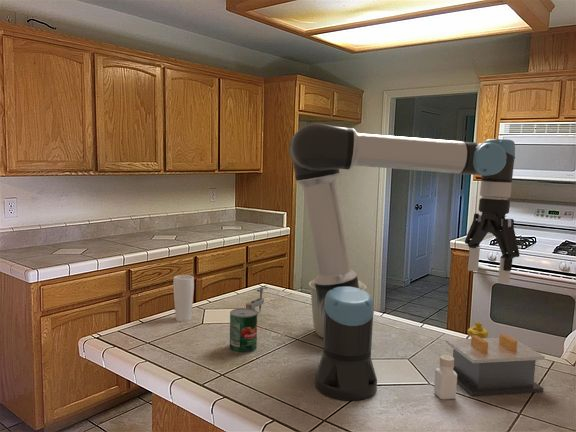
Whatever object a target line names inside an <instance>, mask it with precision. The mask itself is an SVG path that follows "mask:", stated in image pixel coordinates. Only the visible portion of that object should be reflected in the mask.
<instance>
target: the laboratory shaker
mask: <svg viewBox="0 0 576 432" xmlns="http://www.w3.org/2000/svg"><path fill="white" fill-rule="evenodd" d="M470 337H471V338H465V339H464V338H461V339H459V338H458V339H457V338H456V339H445V343H446V344H447V345H448V346H450V347H451V348H452V357H453V358H454V367H453V370H454V371H455V372H456V373H457V385H458V386H459V387H461V388H462V389H463V390H464V391H465V392H466V393H467V394H469V396H471V397H485V396H499V395H514V394H515V395H517V394H518V395H519V394H529V393H530V394H531V393H532V394H533V393H543V392H544V387H543V386H541V385H540V384H538V383H537V382H535V372H536V362H537V361H542V360H544V361H545V359H546V357H545V355H543V354H541V353H540V352H538V351H536V350H534V349H533V348H530V347H529V346H527V345H526V344H523V343H522V342H520V341H518V340H517V339H515V338H513V337H512V336H509V335H507V334H505V333H503V334H501V333H500V334H499V337H488V338H480V337H479V336H477V335H472V336H470Z"/></svg>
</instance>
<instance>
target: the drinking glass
mask: <svg viewBox="0 0 576 432" xmlns="http://www.w3.org/2000/svg"><path fill="white" fill-rule="evenodd" d="M172 281H173V282H172V286H173V287H172V288H173V300H174V312H175V313H174V315H175V321H177V322H181V323H185V322H189V321H191V320H192V313H193V312H192V311H193V304H194V301H193V299H194V294H195V293H194V291H195V277H194V275H190V274H179V275H175V276H173V280H172Z"/></svg>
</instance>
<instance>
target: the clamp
mask: <svg viewBox="0 0 576 432" xmlns="http://www.w3.org/2000/svg"><path fill="white" fill-rule="evenodd" d="M267 289H268V286H263V287H262V286H261V287H259V288H257V290H256V291H257V293H259V297H258V298H256V299H253V300H251V301H250V302H247V303H246V304H245V308H249V309H254V310H255V308H257V307H258V308H259V309H258V312H259V313H261V310H262V305H263V304H264V303H265V299H264V298H263V292H264V290H267Z"/></svg>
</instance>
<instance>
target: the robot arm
mask: <svg viewBox="0 0 576 432" xmlns="http://www.w3.org/2000/svg"><path fill="white" fill-rule="evenodd" d="M288 149H289V150H288V151H289V156H290V158H291V160H292V165H293V171H294V172H293V173H294V177H295V180H296V183H298V184H299V185H300V186H302V188H303V195H304V200H305V205H306V211H307V218H308V221H309V228H310V234H311V239H312V245H313V251H314V255H315V260H316V267H317V272H318V274H317V275H316V277H315V278H314V279H315V280H314V279H313V280H314V282H315V288H316V294H317V306H318V309H319V311H320V313H321V316H322V319H323V322H324V338H323V347H322V349H323V350H322V356H321V358H320V361H319V363H318V367H317V369H316V371H315V375H314V386H315V389H316V390H317V391H319V393H321V394H323V395H324V396H327V397H329V398H332V399H335V400H342V401H361V400H365V399H368V398H371V397H373V396H374V395H375V394H376V392H377V389H378V388H377V387H378V378H377V373H376V371H375V368H374V364H373V360H372V347H373V345H372V344H373V343H372V342H373V326H374V325H373V323H374V322H373V321H374V314H375V307H374V299H373V297H372V295H371V294H370V293H369V292H368V291H366V290H365V291H364V290H361V289H359V284H358V280H359V279H358V274H357V272H355V271H354V270H353V269H351V265H350V259H349V255H348V249H347V248H348V247H347V243H346V237H345V232H344V224H343V219H342V213H341V207H340V203H339V201H340V200H339V196H338V190H337V184H336V180H337V178H338V177H339V175H340V173H341V172H340V170H349V171H350V170H351V169H353V168H354V167H366V168H381V169H382V168H383V169H394V170H395V169H396V170H406V171H407V170H409V171H410V170H411V171H421V172H423V171H424V172H438V173H443V174H449V175H452V174H456V175H474V176H475V175H477V176H481V180H480V188H479V189H480V190H479V196H480V199H478V200H479V201H478V202H479V203H478V211H479V212H480V213H479V212H478V213H477V212H476V213H473V217H472V218H473V219H472V221H471V222H472V223H471V225H470V227H469V230H468V232H467V235H466V237H465V239H464V244H467V246H468V247H469V249H468V264H467V271H469V272H474V271H475V272H477V271H479V262H480V253H481V252H480V251H481V249H480V248H481V247H480V244H481V243H482V242H483V240H484V238H485V237H486V236H487V234H488V233H489V234H492V236H494V237H495V239H496V242H497V244H498V247H499V251H500V252H501V256H500V257H499V259H500V260H499V269H498V270H499V271H498V279H497V283H499V284H510V277H511V271H512V269H513V266H512V265H513V259H514V258H520V255H521V254H520V248H519V246H518V241H517V240H518V239H517V237H516V232H515V220H514V219H513V218H506V215H507V214H509V212H510V205H511V201H510V199H509V198H510V197H511V193H512V183H513V174H514V166H515V165H514V164H515V159H516V142H515V141H513V140H512V139H508V138H488V139H486V140H485V141H484V142H475V141H474V142H472V141H462V140H461V141H460V140H451V139H450V140H448V139H447V140H446V139H435V138H422V137H410V136H409V137H408V136H397V135H396V136H395V135H385V134H384V135H383V134H371V133H360V132H358V131H356V129H355V128H353V127H342V126H336V125H330V124H325V123H322V122H321V123H320V122H312V123H311V122H310V123H309V124H306V125H304V126H302V127H300V128H299V129H298V130H297V132H295V133H294V134H293V136H292V137H291V139H290V143H289V148H288Z"/></svg>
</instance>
